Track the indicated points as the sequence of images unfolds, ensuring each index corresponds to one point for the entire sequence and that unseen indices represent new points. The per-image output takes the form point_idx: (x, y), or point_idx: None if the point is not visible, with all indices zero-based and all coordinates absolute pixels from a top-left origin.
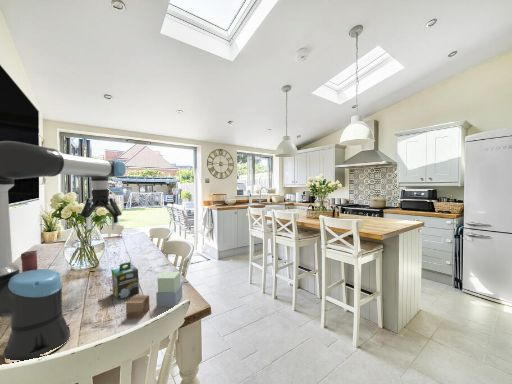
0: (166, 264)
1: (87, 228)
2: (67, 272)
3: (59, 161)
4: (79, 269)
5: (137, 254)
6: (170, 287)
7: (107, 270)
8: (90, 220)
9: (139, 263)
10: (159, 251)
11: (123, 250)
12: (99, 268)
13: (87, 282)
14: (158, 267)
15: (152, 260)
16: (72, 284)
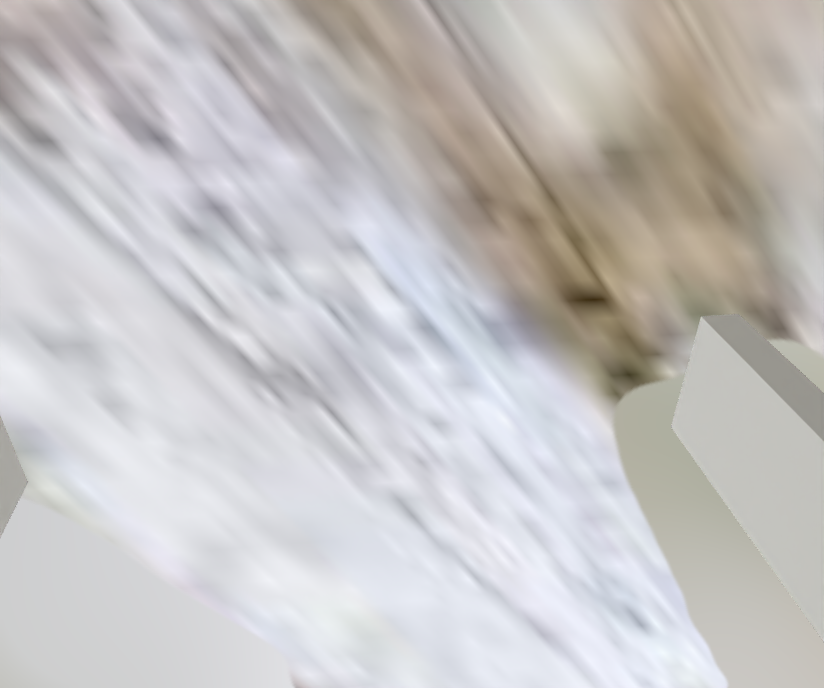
0: None
1: (726, 333)
2: (784, 267)
3: None
4: None
5: (438, 611)
6: None
7: (467, 321)
8: (817, 592)
9: (287, 468)
10: (300, 673)
11: (597, 657)
12: (565, 355)
13: (469, 57)
14: (34, 406)
15: (219, 528)
16: (584, 8)
